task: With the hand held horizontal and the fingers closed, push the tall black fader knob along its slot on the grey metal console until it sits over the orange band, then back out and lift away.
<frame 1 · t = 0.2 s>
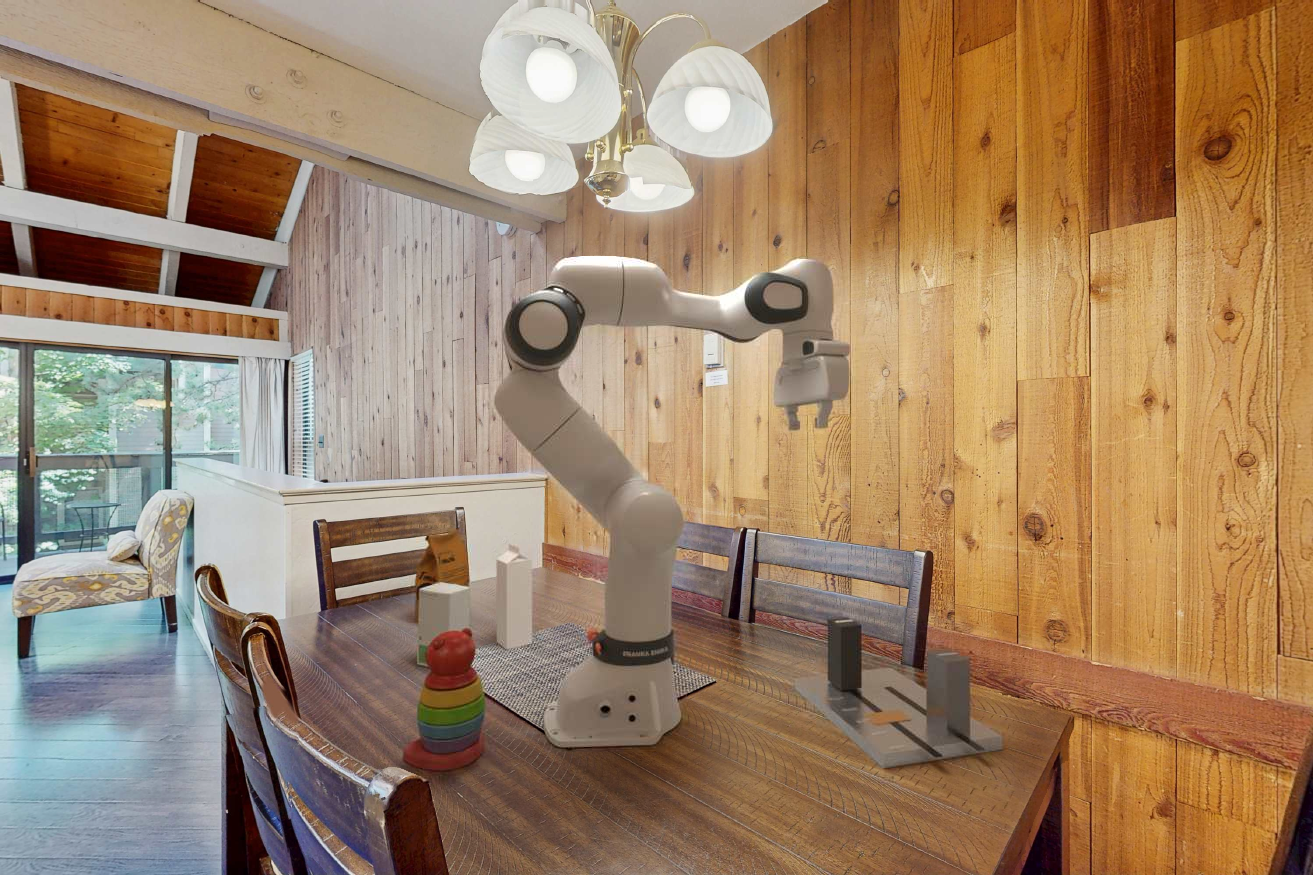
hand: (806, 429, 103), 48 cm above the table, tool pointing down, fingers open, 8 cm apart
stacking bear: (450, 753, 84), on the table
skincare box: (444, 663, 118), on the table
coffee package: (442, 618, 147), on the table
console: (887, 715, 95), on the table
fader knob: (844, 652, 102), point 8 cm above the table, slide at 0.0 cm
milk: (514, 643, 129), on the table
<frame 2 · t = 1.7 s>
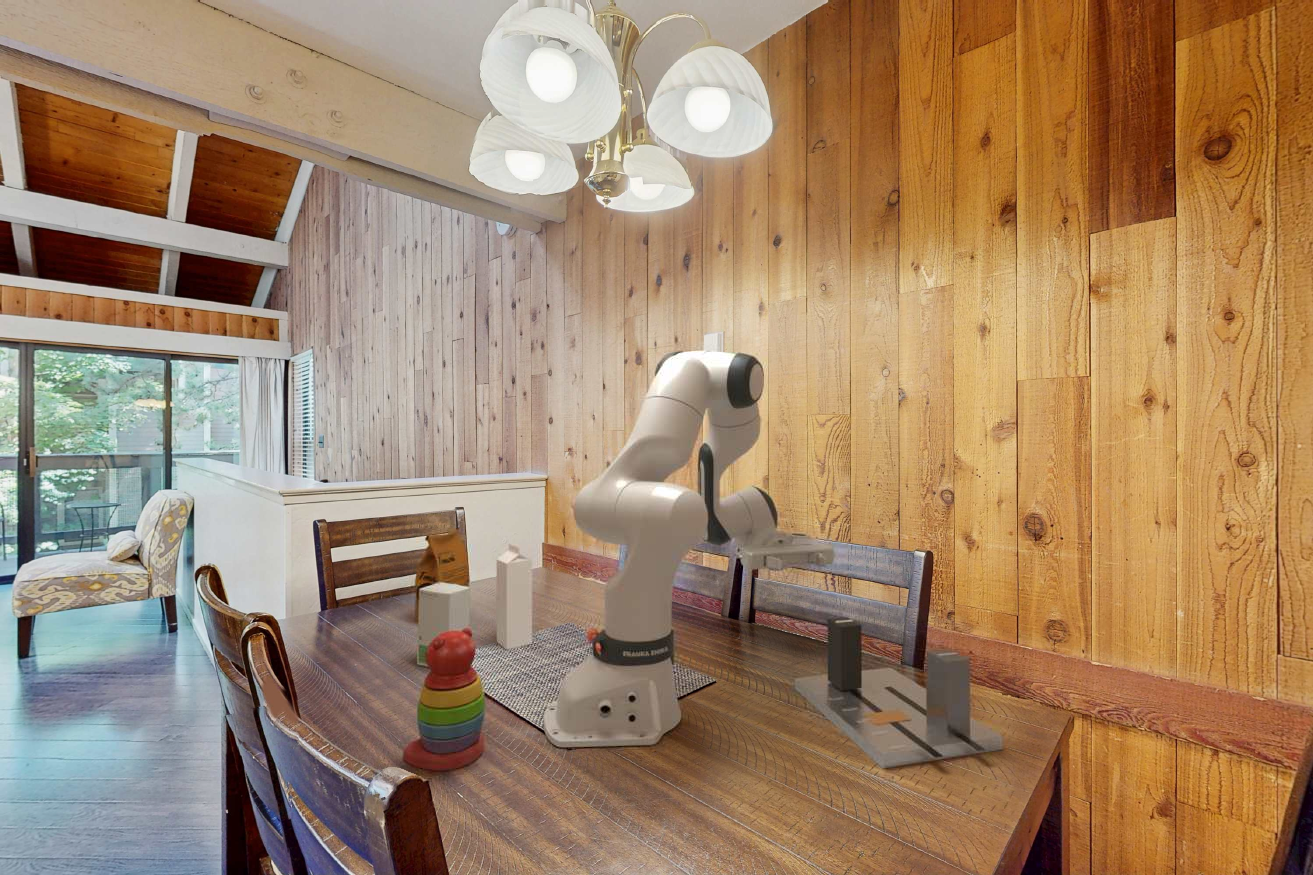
hand: (803, 563, 117), 20 cm above the table, tool horizontal, fingers open, 7 cm apart
nothing on the table moved.
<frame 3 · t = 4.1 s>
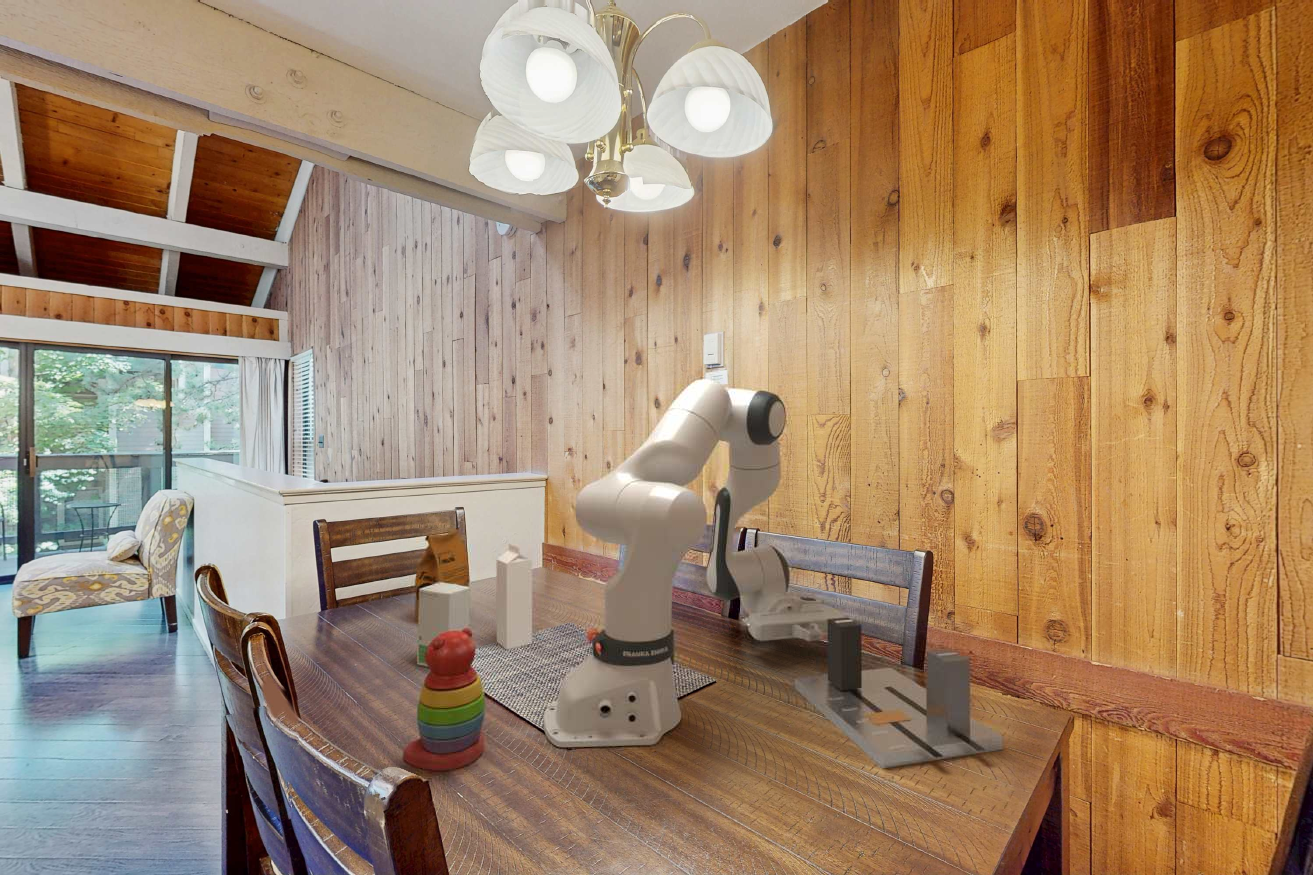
hand: (815, 636, 112), 7 cm above the table, tool horizontal, fingers closed
nothing on the table moved.
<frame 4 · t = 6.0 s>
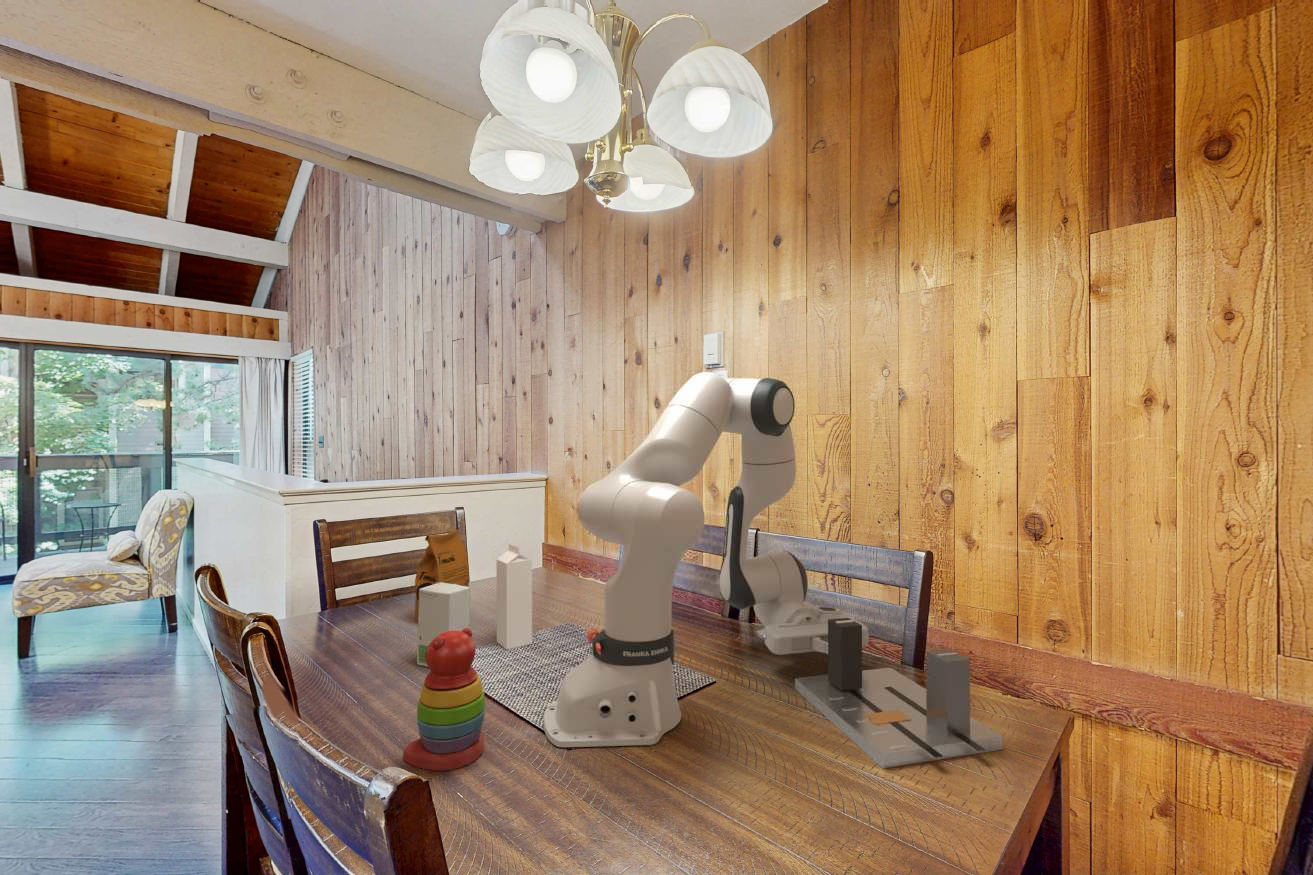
hand: (837, 650, 104), 7 cm above the table, tool horizontal, fingers closed, pressing on fader knob
fader knob: (844, 652, 102), point 8 cm above the table, slide at 0.2 cm, touching gripper
everything else where it was.
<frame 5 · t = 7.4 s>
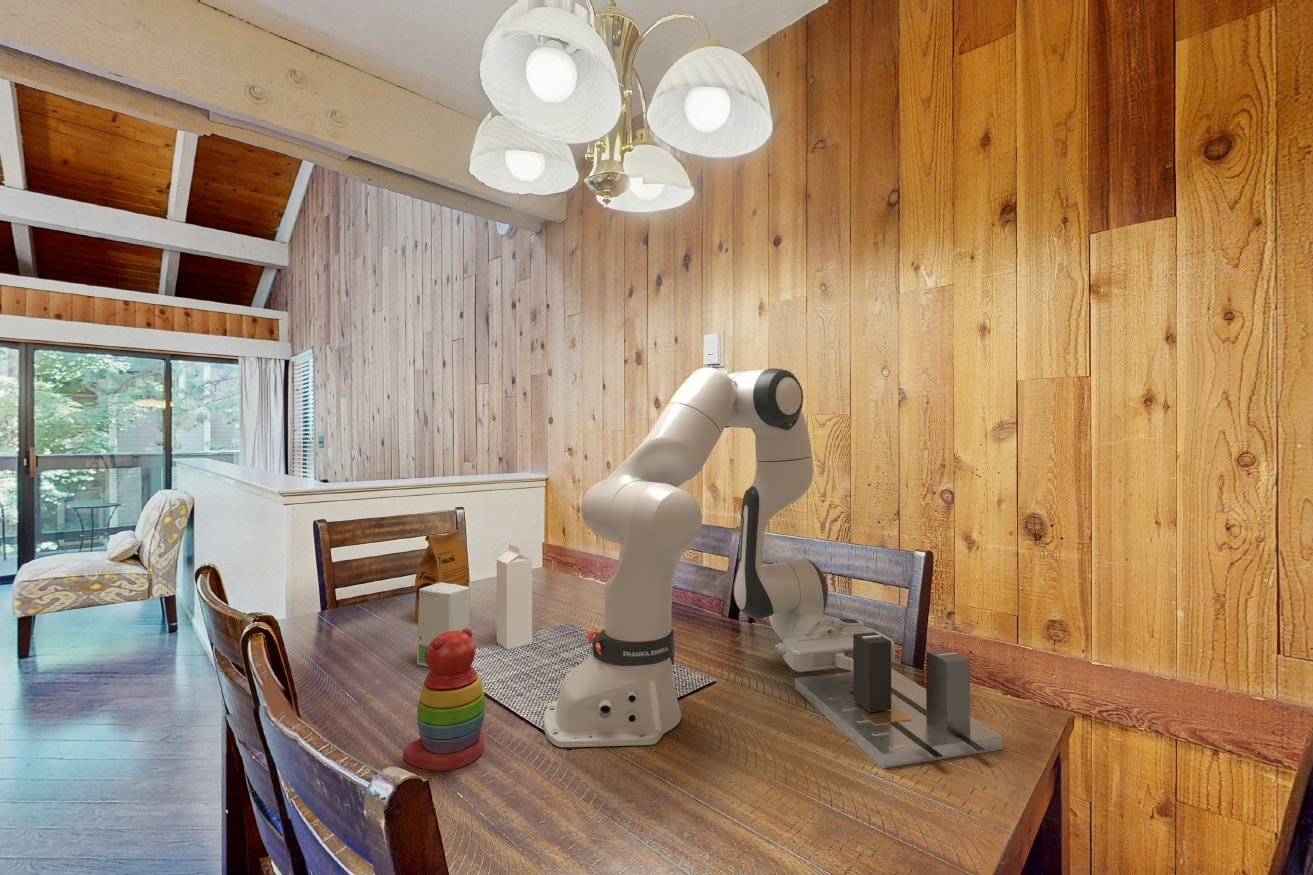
hand: (863, 667, 96), 7 cm above the table, tool horizontal, fingers closed, pressing on fader knob
fader knob: (871, 670, 94), point 8 cm above the table, slide at 8.2 cm, touching gripper
everything else where it was.
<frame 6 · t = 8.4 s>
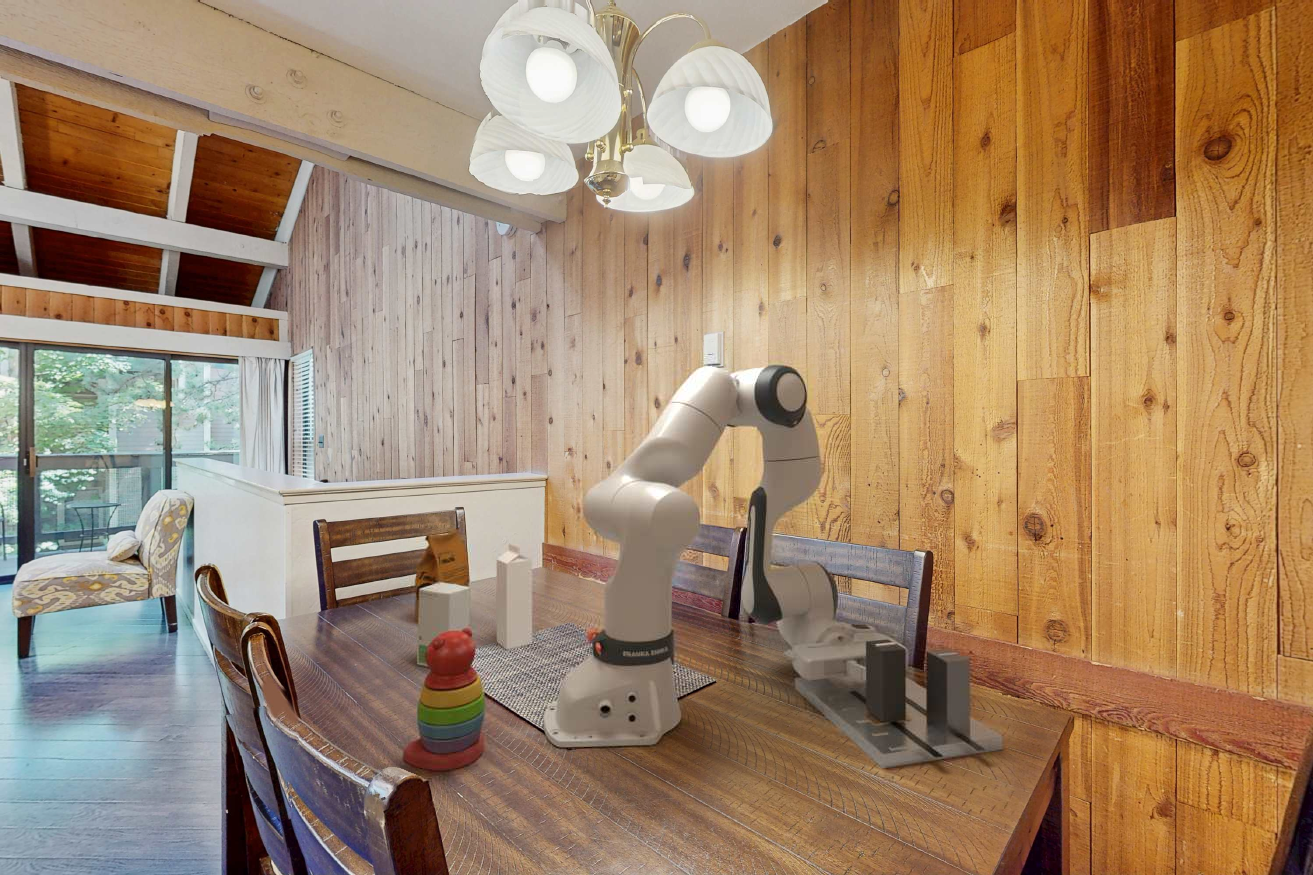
hand: (876, 676, 93), 7 cm above the table, tool horizontal, fingers closed, pressing on fader knob
fader knob: (885, 679, 91), point 8 cm above the table, slide at 11.7 cm, touching gripper
everything else where it was.
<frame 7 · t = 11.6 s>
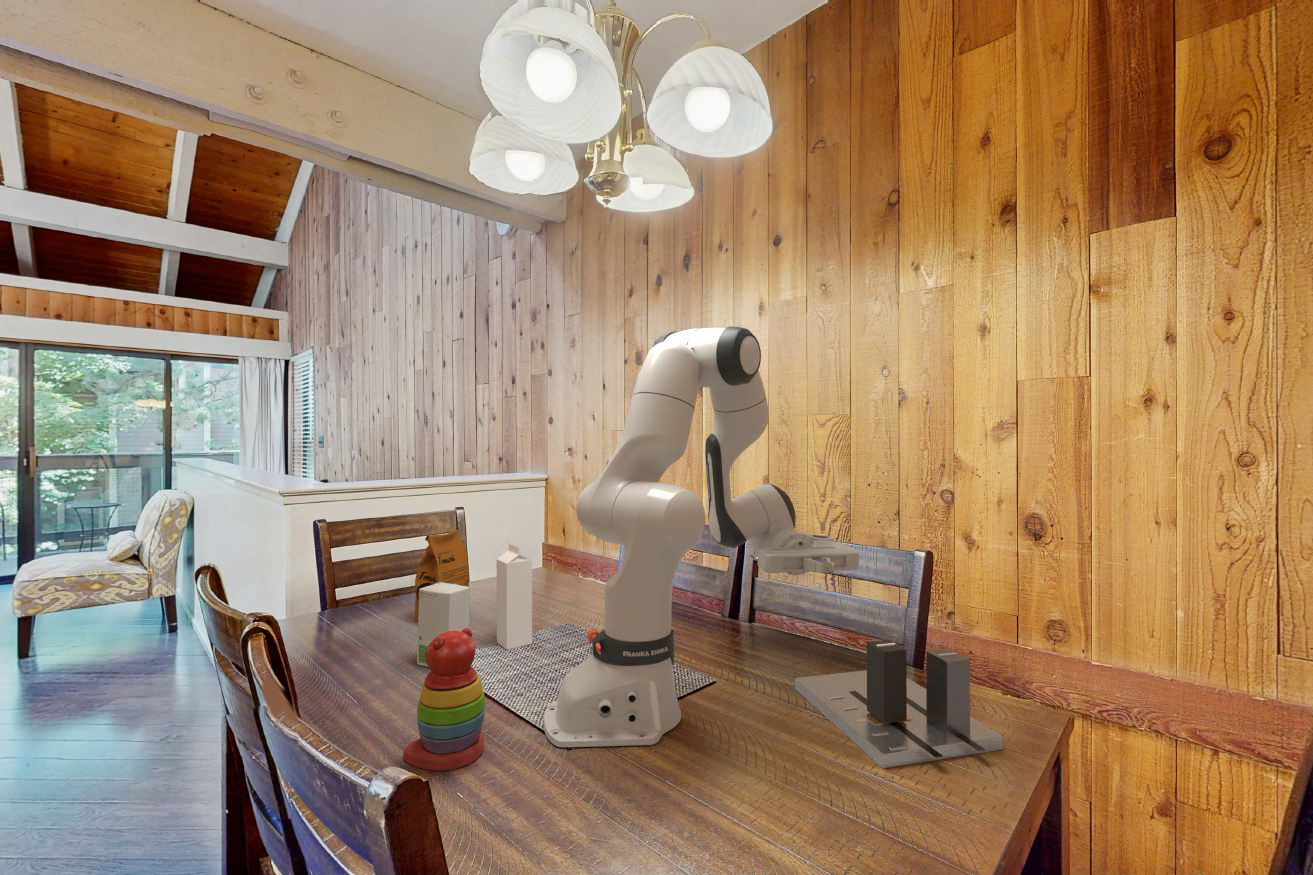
hand: (827, 568, 107), 22 cm above the table, tool horizontal, fingers closed
fader knob: (886, 679, 90), point 8 cm above the table, slide at 11.9 cm
everything else where it was.
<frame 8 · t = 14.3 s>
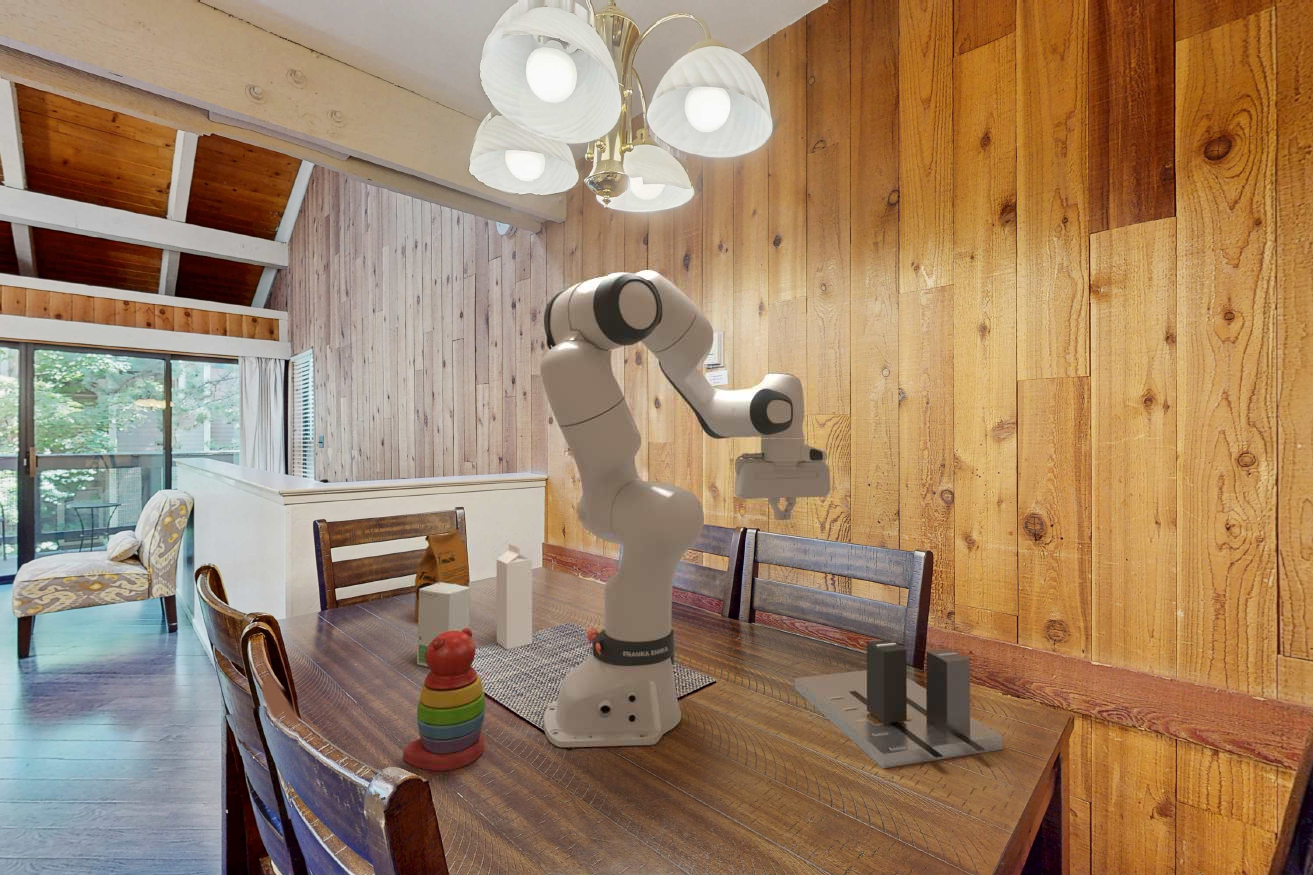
hand: (782, 519, 119), 29 cm above the table, tool pointing down, fingers closed
nothing on the table moved.
at the end: fader knob slide at 11.9 cm; fader knob touching nothing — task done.
